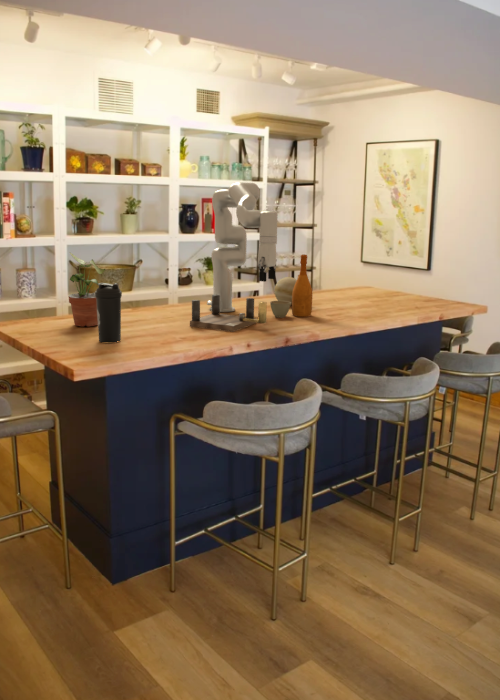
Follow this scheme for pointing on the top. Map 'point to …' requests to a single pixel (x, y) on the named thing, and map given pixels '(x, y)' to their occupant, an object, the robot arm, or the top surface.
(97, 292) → the water bottle
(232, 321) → the stool seat
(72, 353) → the top surface
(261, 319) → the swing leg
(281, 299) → the decorative ball
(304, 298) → the wine bottle
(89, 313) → the potted plant
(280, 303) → the flower pot
